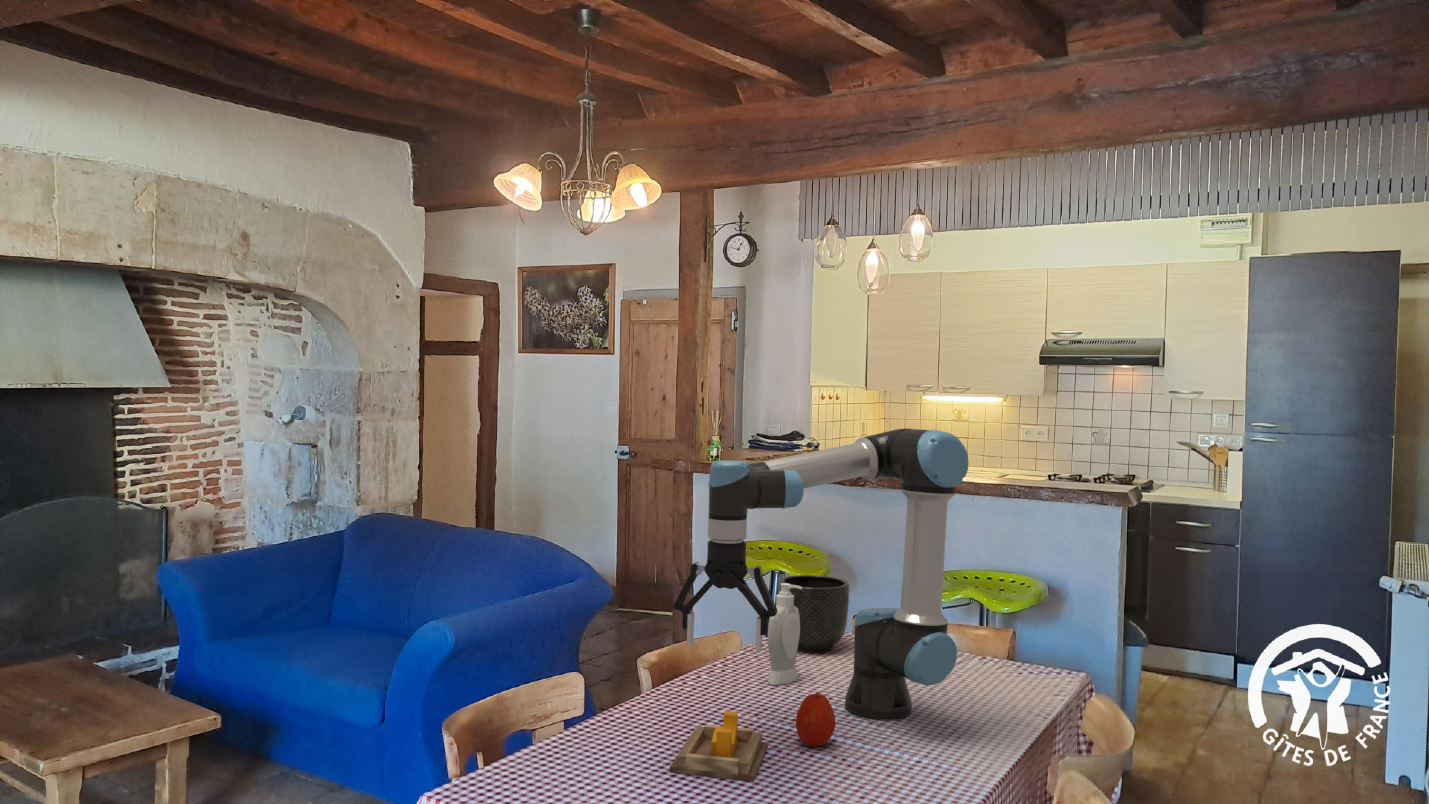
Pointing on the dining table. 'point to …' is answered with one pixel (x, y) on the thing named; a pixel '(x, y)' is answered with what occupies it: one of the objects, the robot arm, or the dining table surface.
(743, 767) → the tray
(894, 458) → the robot arm
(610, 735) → the dining table surface
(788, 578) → the planter
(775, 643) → the soap bottle
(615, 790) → the dining table surface
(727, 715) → the orange stepped block
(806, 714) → the apple
